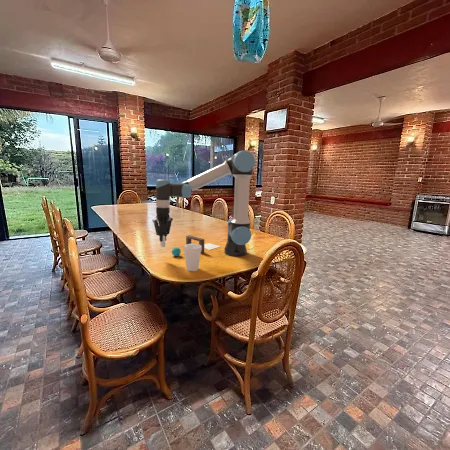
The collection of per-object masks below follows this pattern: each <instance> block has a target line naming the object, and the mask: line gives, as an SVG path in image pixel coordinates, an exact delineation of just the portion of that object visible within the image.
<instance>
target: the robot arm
mask: <svg viewBox="0 0 450 450" xmlns="http://www.w3.org/2000/svg"><path fill="white" fill-rule="evenodd" d="M255 165H256V159H255V156H254V154H253V153H252V152H251V151H248V150H239V151H238V152H236V153H234V154H233V155H232V156H231V157H229V158H227V159H225V160H224V162H223V163H221V164H218V165H216V166H214V167H213V168H210V169H208V170H206V171H204V172H202V173H200V174H198V175H195V176H192V177H191V178H189V179H187V180H184V181H182V182H179V183H171V181H170V180H169V179H157V180H156V183H155V184H156V186H155V196H156V197H155V199H156V200H155V203H156V204H155V205H156V208H155V213H156V215H155V218H154V219H152V223H153V225H154V230H155V234H156V236H159V242H160V247H161V248H166V241H167V237H168V235H170V232H171V227H172V222H173V219H174V218H173V217H171V216H170V211H171V208H170V206H171V203H170V201H171V198H184V199H185V198H190V197H191V196H192V192H194V191H196V190H199V189H201V188H203V187H204V186H207V185H208V184H211V183H213V182H216V181H218V180H220V179H222V178H224V177H226V176H228V175H230V176H231V175H232V176H233V177H234V195H233V196H234V198H233V202H234V203H233V218H229V219H228V220H227V241H226V243H225V247H224V251H223V253H224V254H225V255H227V256H232V257H243V256H246V255H247V253H248V249H247V246H246V244H248V243H249V242H250V241H251V238H252V232H251V221H250V220H249V205H250V182H251V181H250V180H251V178H252V177H253V175H254V168H255Z"/></svg>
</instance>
